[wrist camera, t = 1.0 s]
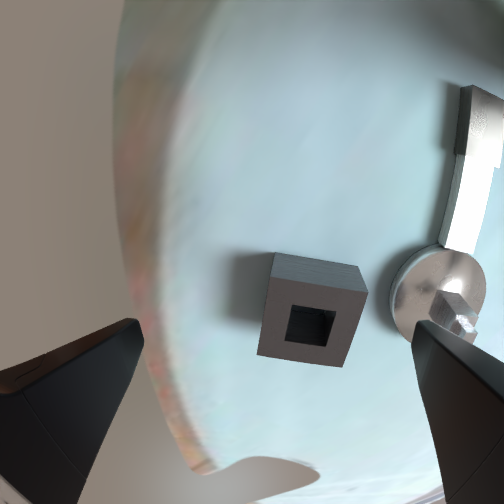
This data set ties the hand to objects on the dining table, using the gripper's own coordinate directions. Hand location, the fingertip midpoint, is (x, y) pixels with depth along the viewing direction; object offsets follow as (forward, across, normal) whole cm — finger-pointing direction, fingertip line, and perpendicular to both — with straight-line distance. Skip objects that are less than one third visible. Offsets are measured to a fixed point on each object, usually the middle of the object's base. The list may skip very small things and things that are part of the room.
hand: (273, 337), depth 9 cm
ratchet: (+13, -13, 0) cm, 18 cm away
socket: (+13, -1, +6) cm, 14 cm away
